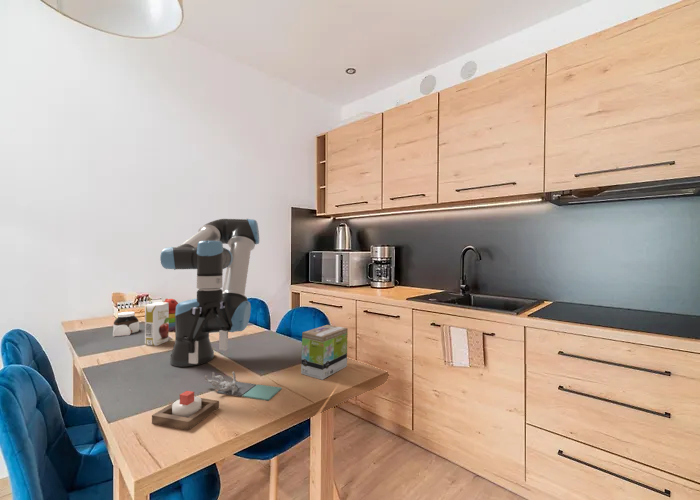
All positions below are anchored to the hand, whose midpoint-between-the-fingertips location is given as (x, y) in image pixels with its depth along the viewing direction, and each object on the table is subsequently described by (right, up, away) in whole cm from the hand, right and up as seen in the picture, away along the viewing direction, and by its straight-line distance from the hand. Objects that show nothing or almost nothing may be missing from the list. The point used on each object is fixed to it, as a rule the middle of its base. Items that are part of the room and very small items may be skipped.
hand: (209, 356), depth 100 cm
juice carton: (-42, -9, +41) cm, 59 cm away
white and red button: (+2, -9, -18) cm, 20 cm away
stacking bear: (-48, -9, +62) cm, 79 cm away
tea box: (+36, -10, +13) cm, 39 cm away
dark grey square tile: (+10, -9, -2) cm, 14 cm away
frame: (+2, -9, -18) cm, 20 cm away
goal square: (+18, -10, -5) cm, 21 cm away
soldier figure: (+1, -8, 0) cm, 8 cm away
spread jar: (-65, -9, +54) cm, 85 cm away
